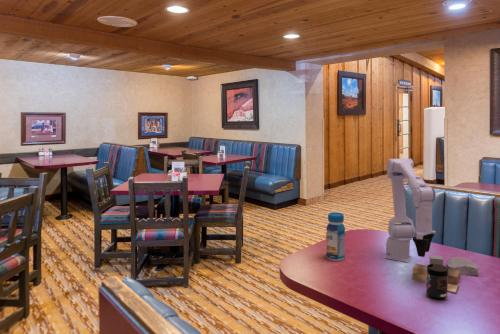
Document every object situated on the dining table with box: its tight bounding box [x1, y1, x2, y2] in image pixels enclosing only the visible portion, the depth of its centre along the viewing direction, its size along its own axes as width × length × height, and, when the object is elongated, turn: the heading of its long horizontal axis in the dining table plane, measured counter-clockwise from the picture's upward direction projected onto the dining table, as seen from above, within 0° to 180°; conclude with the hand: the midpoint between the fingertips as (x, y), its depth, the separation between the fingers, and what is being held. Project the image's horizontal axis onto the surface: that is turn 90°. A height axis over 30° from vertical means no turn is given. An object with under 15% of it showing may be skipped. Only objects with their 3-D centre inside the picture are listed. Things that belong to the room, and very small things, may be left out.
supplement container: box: [425, 264, 449, 301], centre depth 132 cm, size 7×7×10 cm
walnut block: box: [448, 267, 462, 286], centre depth 146 cm, size 7×7×4 cm
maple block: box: [412, 263, 427, 283], centre depth 147 cm, size 4×4×5 cm
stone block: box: [446, 256, 479, 277], centre depth 155 cm, size 12×5×10 cm
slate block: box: [428, 254, 444, 266], centre depth 156 cm, size 4×4×5 cm
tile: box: [447, 284, 460, 295], centre depth 139 cm, size 7×7×1 cm
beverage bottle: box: [325, 212, 346, 262], centre depth 170 cm, size 8×8×20 cm
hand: (423, 253), depth 146 cm, fingers open, 7 cm apart
